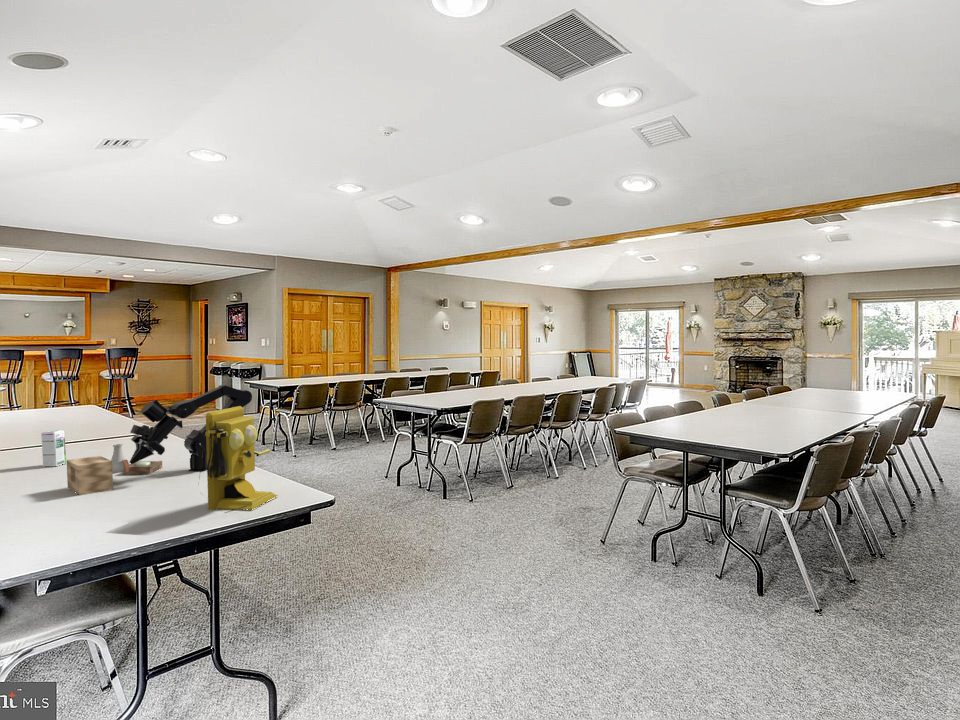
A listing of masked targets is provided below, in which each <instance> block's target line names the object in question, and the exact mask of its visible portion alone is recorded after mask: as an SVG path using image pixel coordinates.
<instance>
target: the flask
mask: <svg viewBox="0 0 960 720" xmlns="http://www.w3.org/2000/svg"><path fill="white" fill-rule="evenodd" d="M112 447H113V453H112V457H111V459H110V460H111V461H112V463H114V462H120V461H122V460H127V459H126V457H125V455H124V452H123V444H122V443H115V444H113V445H112Z"/></svg>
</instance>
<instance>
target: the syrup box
mask: <svg viewBox="0 0 960 720" xmlns="http://www.w3.org/2000/svg"><path fill="white" fill-rule="evenodd" d="M40 434H41V435H40V436H41V449H42V450H41V452H42V466H43V467H45V466H57V467H59V465H60V466H62V464H63V465H66V464H67V455H66V453H67V452H66V435H65V430H63V429H54V430H48V431H44V432H41V433H40ZM65 463H66V464H65ZM45 468H46V467H45Z"/></svg>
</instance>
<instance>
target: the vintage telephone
mask: <svg viewBox="0 0 960 720" xmlns="http://www.w3.org/2000/svg"><path fill="white" fill-rule="evenodd" d="M254 419H255V418H254V416H244V407H241V406H237V407H233V408H228V409H223V410H221V409H220V410H214V411H209V412H207V413H206V415H205V425H206V433H205V439H206V445H207V470H206V473H207V474H206V475H207V477H206V478H207V507H208V509H207V510H208V511H214V509H215V510H220V511H221V512H223V511H222V510H229V509H234V510H229V511H226V512H225V511H224V514H226V513H230V512H233V511H238V510H237V509H248V510H252V509H254V508H256V507H258V506H260V505H261V504H263V503H265V502H267V501H268V500H270V499H272V498H274V497H276V496H278V497H279V495H277V494H275V493H274V492H272V491H262V490H261V491H260V490H259V491H256V489H255V487H254V485H253V484H252V483H251V482H249V481H248V480H247V479H246V474H248V473H251V472H254V471H255V470H256V464H255V463H256V460H255V459H256V458H255V455H256V456H257V457H261V456H263V455H265V454H270V453H271V449H270V448H267V449H265V450H263V451H260V452H259V451H255V442H256V441H257V439H258V430H257V428H256V427H255V423H254V422H255V420H254ZM205 439H204V446H205ZM203 452H204V447H203ZM202 459H203V454H202ZM201 465H202V461H201ZM199 473H202V471H201V469H200V471H199ZM200 477H201V475H199V477H198V479H200ZM198 486H199V483H198ZM201 495H202V496H204V495H203V493H201ZM267 503H268V502H267ZM265 504H266V503H265ZM263 505H264V504H263ZM260 507H261V506H260ZM216 508H217V509H216ZM258 508H259V507H258ZM256 509H257V508H256ZM254 510H255V509H254ZM252 511H253V510H252Z"/></svg>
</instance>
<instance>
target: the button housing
mask: <svg viewBox="0 0 960 720" xmlns="http://www.w3.org/2000/svg"><path fill="white" fill-rule="evenodd" d="M138 462H150V464H149V465H141V466H136V463H138ZM138 462H136V463H134V464H131V463H129V472H128V473H123V472H122V473H123V474H130V475H151V474H153V473H155V472H157V470H158V471H159V469H160V470H161V468H162V469H163V460H143V461H142V460H140V461H138Z"/></svg>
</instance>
